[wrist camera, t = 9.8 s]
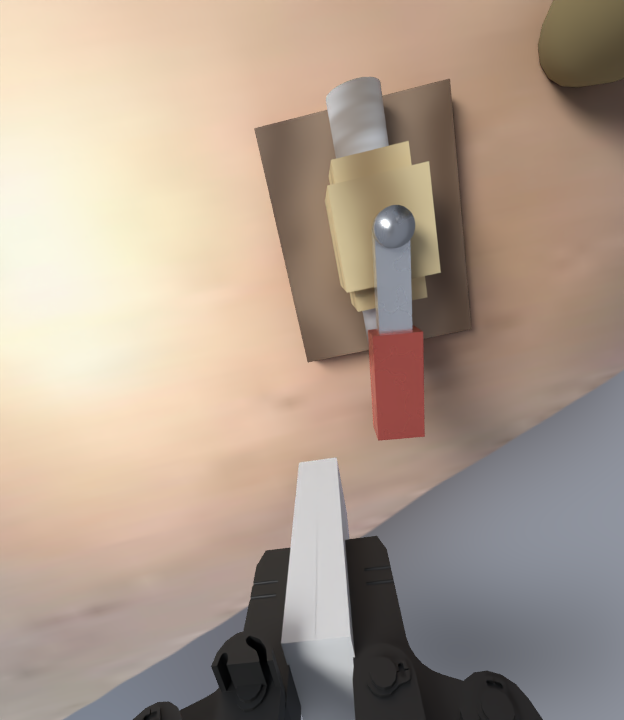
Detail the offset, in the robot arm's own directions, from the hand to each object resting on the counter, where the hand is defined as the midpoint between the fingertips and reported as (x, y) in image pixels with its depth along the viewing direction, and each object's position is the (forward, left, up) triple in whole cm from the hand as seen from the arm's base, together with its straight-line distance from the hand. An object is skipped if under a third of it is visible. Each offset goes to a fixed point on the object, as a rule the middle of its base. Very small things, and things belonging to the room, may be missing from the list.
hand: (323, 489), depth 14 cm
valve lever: (-5, -3, -11) cm, 12 cm away
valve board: (-6, -9, -19) cm, 22 cm away
